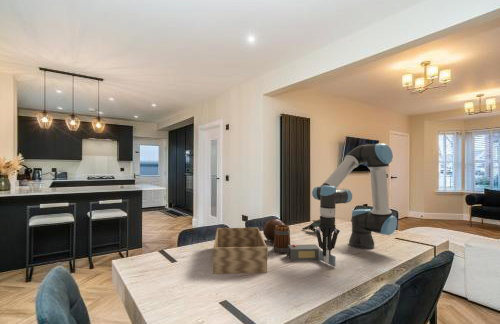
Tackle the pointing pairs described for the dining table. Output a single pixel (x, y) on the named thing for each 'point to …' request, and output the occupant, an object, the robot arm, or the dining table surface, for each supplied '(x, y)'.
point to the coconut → (271, 229)
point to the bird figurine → (312, 225)
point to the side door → (331, 258)
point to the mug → (281, 238)
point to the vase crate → (239, 251)
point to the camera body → (303, 252)
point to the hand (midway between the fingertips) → (326, 262)
